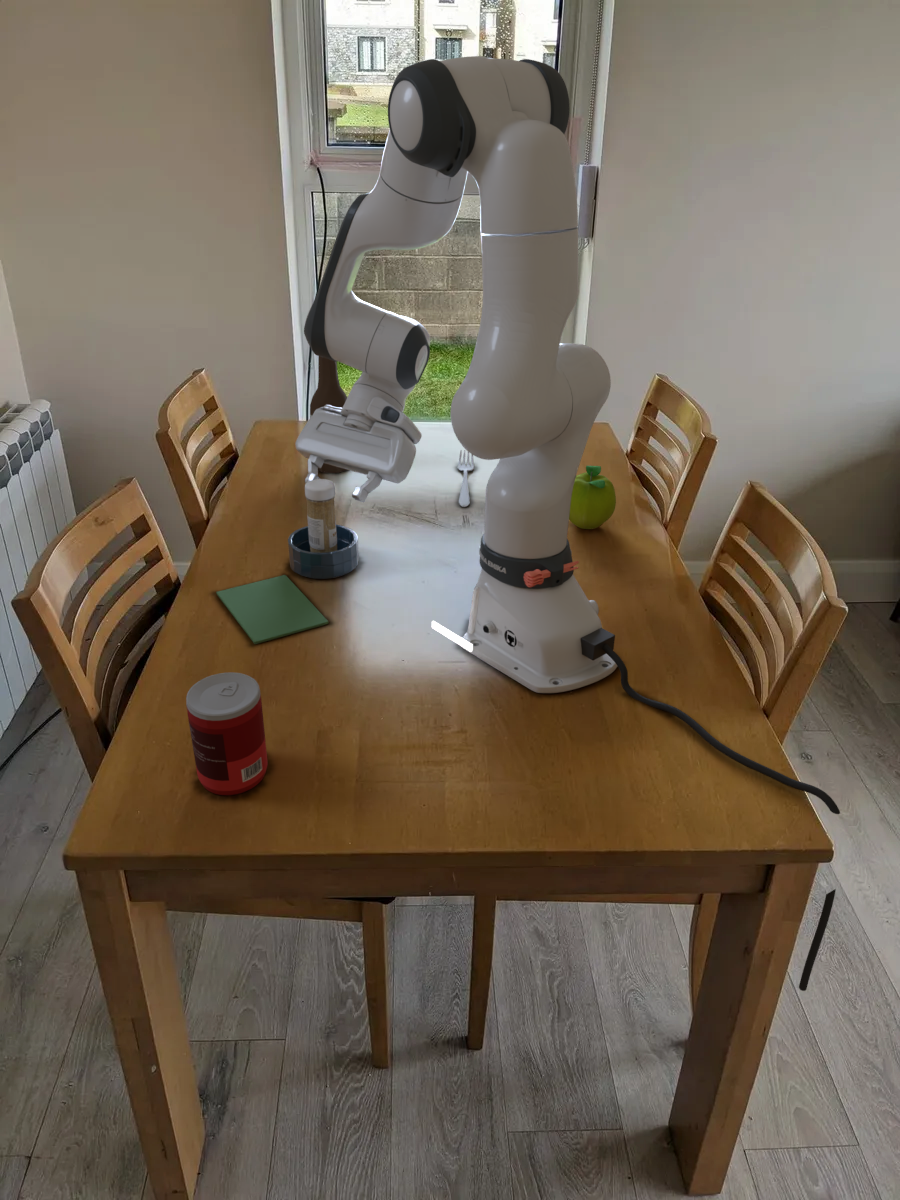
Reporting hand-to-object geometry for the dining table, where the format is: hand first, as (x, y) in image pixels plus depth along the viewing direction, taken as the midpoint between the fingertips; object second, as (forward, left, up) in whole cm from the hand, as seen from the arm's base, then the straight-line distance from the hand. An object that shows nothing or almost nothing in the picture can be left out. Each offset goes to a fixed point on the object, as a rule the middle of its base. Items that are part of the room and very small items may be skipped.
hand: (333, 492), depth 143 cm
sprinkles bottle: (-1, +3, -11) cm, 11 cm away
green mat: (-10, +15, -11) cm, 22 cm away
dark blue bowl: (-1, +3, -11) cm, 12 cm away
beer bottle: (+36, -16, -11) cm, 40 cm away
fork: (+17, -35, -11) cm, 40 cm away
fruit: (-10, -43, -11) cm, 45 cm away
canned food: (-42, +32, -11) cm, 55 cm away
